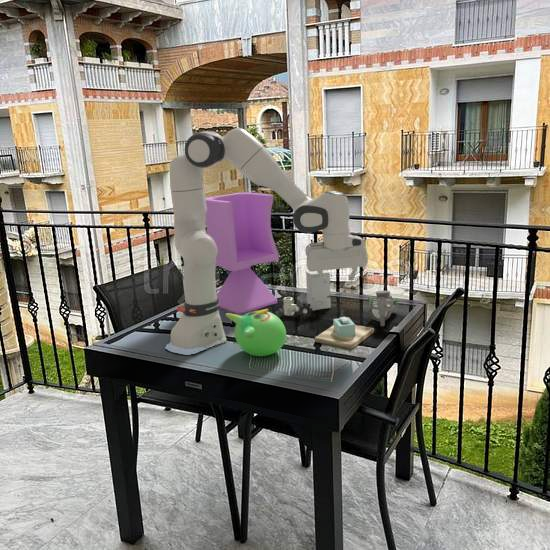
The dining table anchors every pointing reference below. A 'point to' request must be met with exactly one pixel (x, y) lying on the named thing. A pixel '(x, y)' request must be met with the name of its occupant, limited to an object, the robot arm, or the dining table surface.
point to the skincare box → (318, 290)
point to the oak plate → (346, 342)
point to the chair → (242, 248)
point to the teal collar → (344, 328)
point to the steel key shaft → (344, 320)
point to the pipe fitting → (374, 312)
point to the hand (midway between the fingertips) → (337, 281)
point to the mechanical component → (382, 306)
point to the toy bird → (259, 332)
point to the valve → (296, 308)
